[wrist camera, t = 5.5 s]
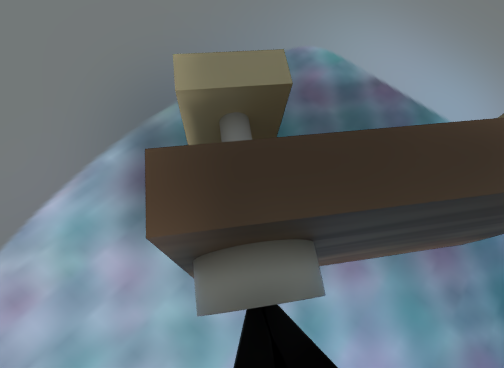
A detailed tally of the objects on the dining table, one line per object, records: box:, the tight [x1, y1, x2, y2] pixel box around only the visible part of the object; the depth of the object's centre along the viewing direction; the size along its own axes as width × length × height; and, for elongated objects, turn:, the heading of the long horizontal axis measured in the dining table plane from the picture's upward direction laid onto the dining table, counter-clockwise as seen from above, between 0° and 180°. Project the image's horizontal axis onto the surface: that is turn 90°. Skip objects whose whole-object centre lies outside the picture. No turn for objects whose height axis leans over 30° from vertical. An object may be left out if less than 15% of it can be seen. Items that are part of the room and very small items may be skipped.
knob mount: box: [145, 118, 504, 278], centre depth 14 cm, size 5×18×13 cm, turn 98°
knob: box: [173, 49, 326, 316], centre depth 11 cm, size 8×4×4 cm, turn 9°
